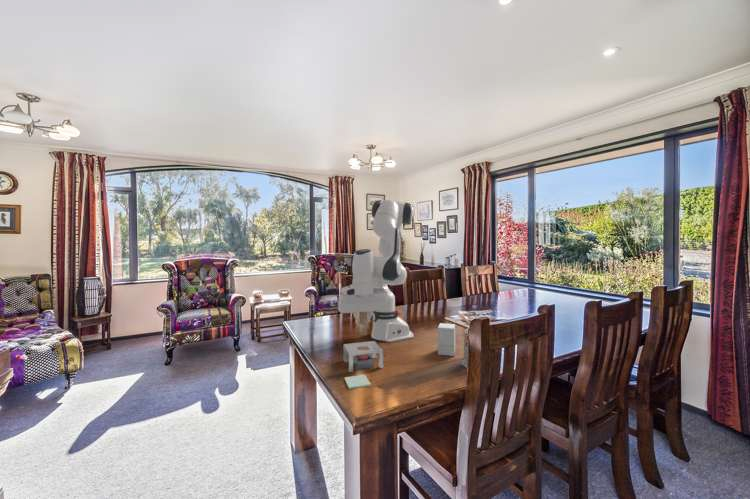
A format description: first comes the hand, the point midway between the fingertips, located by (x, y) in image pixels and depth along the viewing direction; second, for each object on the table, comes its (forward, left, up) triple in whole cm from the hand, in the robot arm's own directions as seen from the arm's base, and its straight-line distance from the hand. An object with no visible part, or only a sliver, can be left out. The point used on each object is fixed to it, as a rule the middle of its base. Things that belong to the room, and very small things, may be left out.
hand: (362, 322), depth 131 cm
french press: (-44, +12, -18) cm, 49 cm away
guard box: (0, -1, -18) cm, 18 cm away
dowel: (0, 0, -5) cm, 5 cm away
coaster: (+6, +14, -18) cm, 24 cm away
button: (0, 0, -16) cm, 16 cm away
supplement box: (-40, -2, -18) cm, 44 cm away
